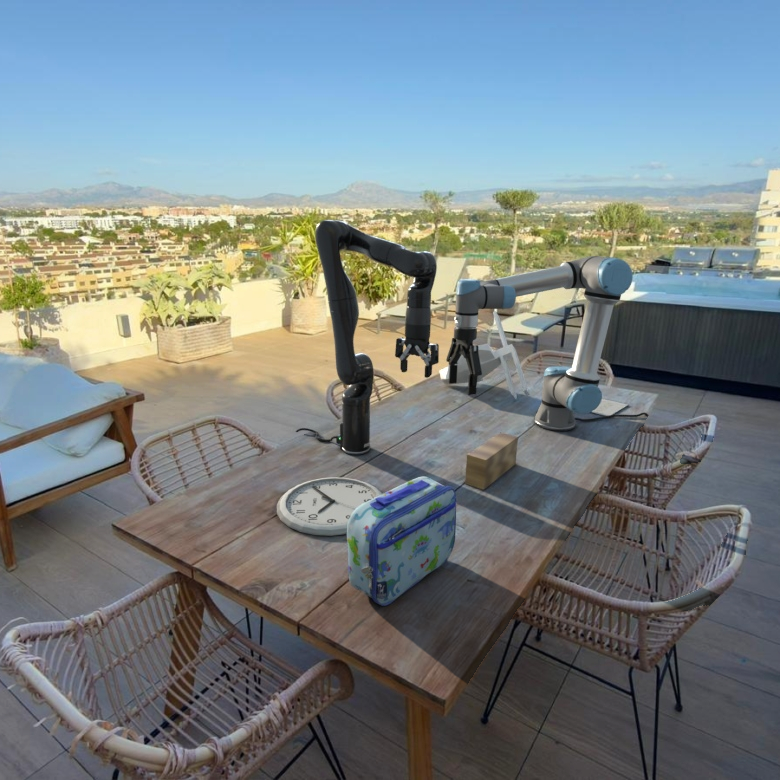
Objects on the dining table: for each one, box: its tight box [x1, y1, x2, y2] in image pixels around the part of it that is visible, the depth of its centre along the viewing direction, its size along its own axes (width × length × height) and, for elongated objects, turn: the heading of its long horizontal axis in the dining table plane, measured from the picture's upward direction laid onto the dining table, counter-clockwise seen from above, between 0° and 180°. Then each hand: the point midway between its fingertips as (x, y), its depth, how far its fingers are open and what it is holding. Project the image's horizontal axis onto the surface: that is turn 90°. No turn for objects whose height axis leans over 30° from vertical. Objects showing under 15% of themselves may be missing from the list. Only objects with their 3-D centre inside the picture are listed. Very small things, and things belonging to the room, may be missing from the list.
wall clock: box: [276, 476, 384, 537], centre depth 142 cm, size 30×2×30 cm
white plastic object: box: [438, 310, 531, 400], centre depth 245 cm, size 37×45×31 cm
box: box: [464, 432, 519, 491], centre depth 162 cm, size 22×6×10 cm, turn 143°
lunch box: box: [346, 475, 457, 607], centre depth 111 cm, size 26×11×21 cm, turn 134°
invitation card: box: [591, 398, 629, 417], centre depth 226 cm, size 21×1×15 cm
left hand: (415, 374), depth 159 cm, fingers open, 8 cm apart
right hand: (461, 388), depth 179 cm, fingers open, 13 cm apart
